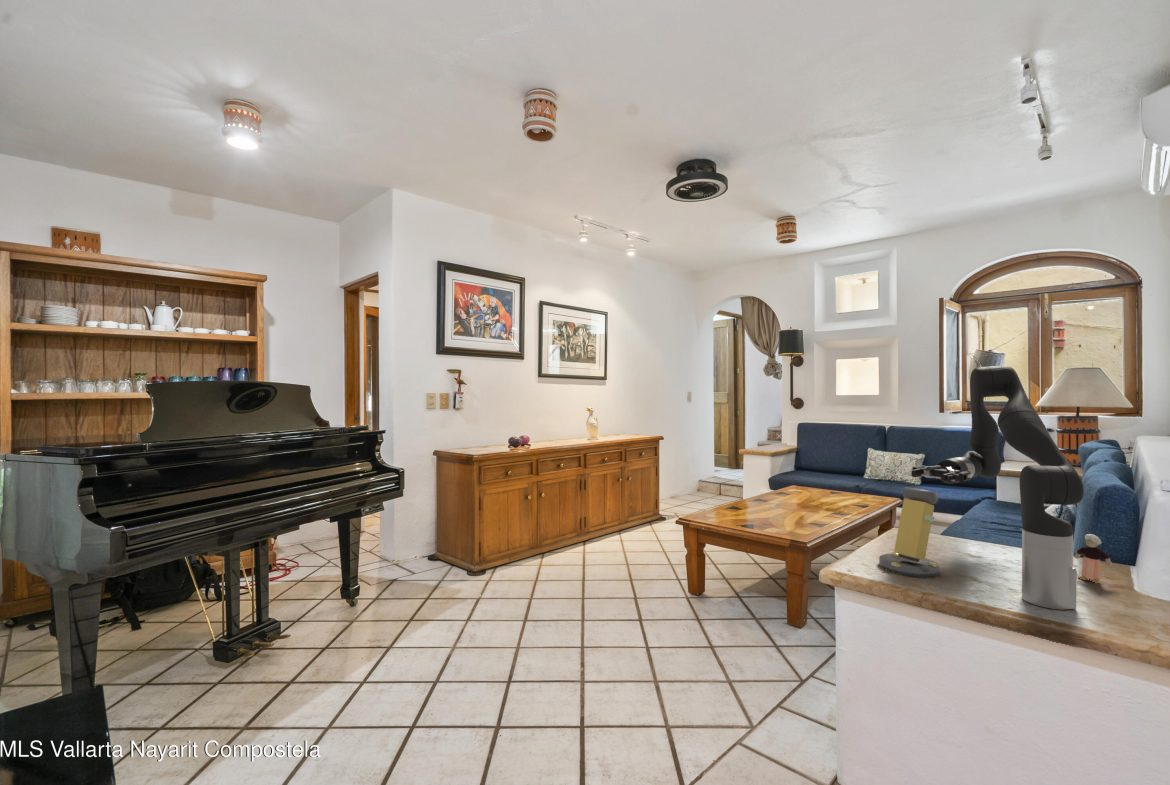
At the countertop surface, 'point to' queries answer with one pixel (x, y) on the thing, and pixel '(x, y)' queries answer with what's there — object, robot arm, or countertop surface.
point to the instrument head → (915, 523)
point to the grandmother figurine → (1092, 558)
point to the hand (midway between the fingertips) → (928, 476)
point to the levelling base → (909, 566)
